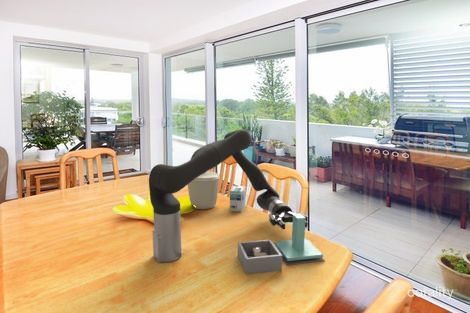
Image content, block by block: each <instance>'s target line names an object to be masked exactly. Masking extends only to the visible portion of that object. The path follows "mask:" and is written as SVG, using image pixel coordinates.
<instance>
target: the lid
mask: <svg viewBox="0 0 470 313" xmlns="http://www.w3.org/2000/svg"><path fill="white" fill-rule="evenodd" d="M291 231H292V232H291V239H286V240H276V241H275V240H274V242H273V244H274V245H275V246H276V247H277V248H278V249H279V251H280V252H281V253H282V255H283V256H284V257H285V258H286V260H287V261H292V260H302V259H311V258H320V257H322V258H323V257H324V254H323V253H322V252H321V251H320V250H319V249H318V248H317V247H316V246H315V245H314V244H313V243H312V242H311V241H310V240H309V239H308V238H305V237H306V235H305V234H306V228H305V217H304V216H303V215H301V214H299V213H295V214H293V223H292V230H291Z"/></svg>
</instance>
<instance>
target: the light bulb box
mask: <svg viewBox="0 0 470 313" xmlns="http://www.w3.org/2000/svg"><path fill="white" fill-rule="evenodd" d="M246 189H247V188H246V186H245V185H244V186H243V185H233V186H232V187H231V189H230V190H229V211H231V212H241V213H242V212H243V211H244V209H245V207H246V196H247V195H246V192H247V190H246Z"/></svg>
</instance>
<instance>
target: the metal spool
mask: <svg viewBox="0 0 470 313" xmlns="http://www.w3.org/2000/svg"><path fill="white" fill-rule="evenodd" d="M255 253H261V247H259V246H254V247H253V253H252V257H254V254H255Z"/></svg>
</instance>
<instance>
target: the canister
mask: <svg viewBox="0 0 470 313" xmlns="http://www.w3.org/2000/svg"><path fill="white" fill-rule="evenodd" d="M220 178H221V175H220V174H219V173H217V172H215V171H210V170H208V171H207V172H205V173H203V174H202V175H200V176H198V177H197V178H195V179H194V180H193V181H191V182H190V183H189V184H188V185H187V189H188V197H189V202H191V203H190V205H191V204H192V205H195V206H196V208H195V209H196V210H210V209H212V208H214V207H215V206H216V205H217V201H218V195H219V194H218V193H219V192H218V191H219V186H220V185H219V184H220ZM192 205H191V206H192Z"/></svg>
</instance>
